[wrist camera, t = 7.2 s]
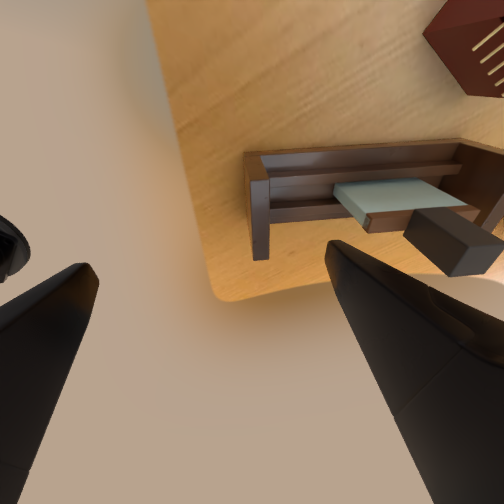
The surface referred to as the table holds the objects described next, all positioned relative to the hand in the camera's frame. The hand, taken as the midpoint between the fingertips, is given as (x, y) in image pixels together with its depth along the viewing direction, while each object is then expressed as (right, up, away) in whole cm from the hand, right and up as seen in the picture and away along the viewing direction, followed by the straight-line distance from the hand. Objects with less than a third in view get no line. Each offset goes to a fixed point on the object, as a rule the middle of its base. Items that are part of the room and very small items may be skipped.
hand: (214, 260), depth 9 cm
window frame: (+10, +6, +11) cm, 16 cm away
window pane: (+12, +6, +10) cm, 17 cm away
